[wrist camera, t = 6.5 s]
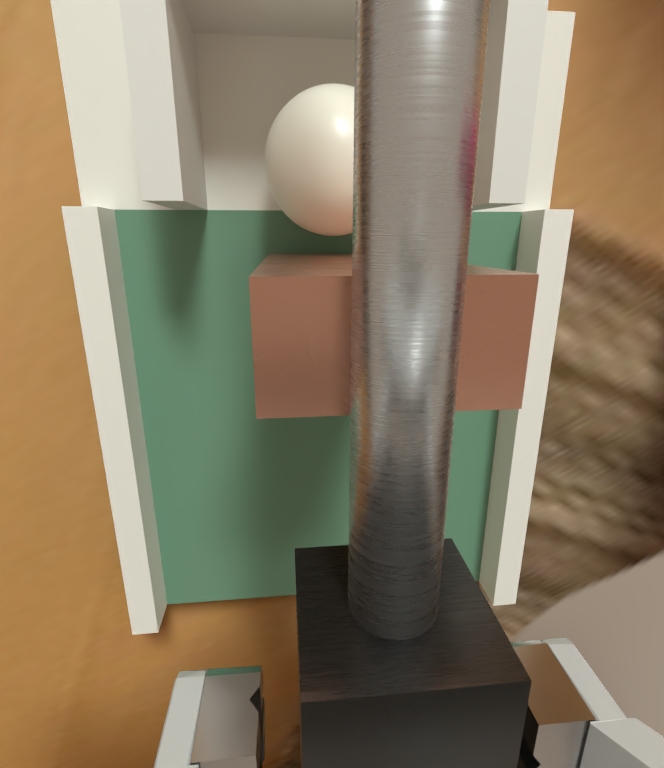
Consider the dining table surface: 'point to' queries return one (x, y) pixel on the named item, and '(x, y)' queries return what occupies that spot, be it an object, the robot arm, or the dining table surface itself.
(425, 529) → the kicker rod
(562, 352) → the dining table surface
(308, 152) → the ball
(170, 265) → the pitch
